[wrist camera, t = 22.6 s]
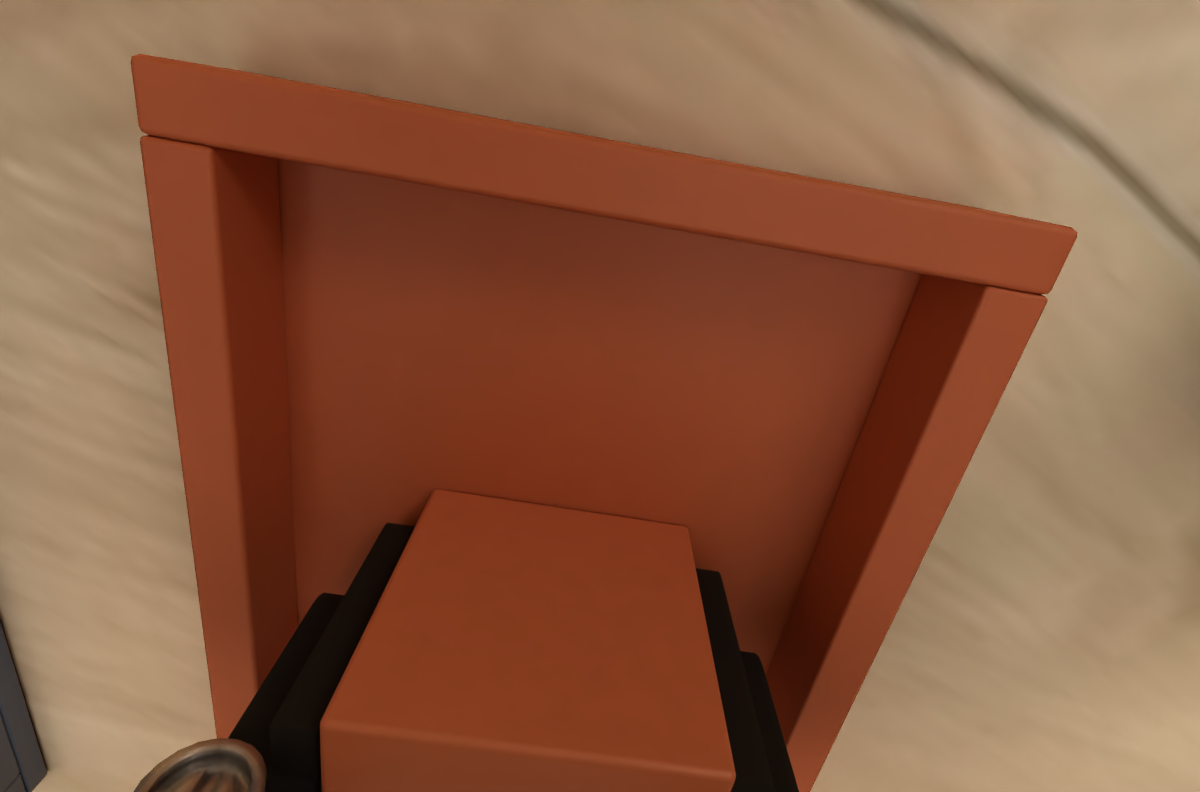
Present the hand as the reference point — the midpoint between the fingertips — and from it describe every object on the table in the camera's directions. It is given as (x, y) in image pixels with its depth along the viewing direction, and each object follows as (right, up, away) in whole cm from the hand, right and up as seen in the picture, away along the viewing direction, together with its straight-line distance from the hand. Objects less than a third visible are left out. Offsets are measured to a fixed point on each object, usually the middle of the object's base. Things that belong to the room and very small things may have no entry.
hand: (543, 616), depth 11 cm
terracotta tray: (0, 0, +1) cm, 1 cm away
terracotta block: (0, 0, 0) cm, 0 cm away
